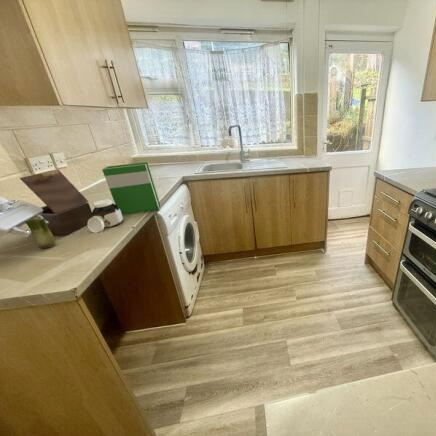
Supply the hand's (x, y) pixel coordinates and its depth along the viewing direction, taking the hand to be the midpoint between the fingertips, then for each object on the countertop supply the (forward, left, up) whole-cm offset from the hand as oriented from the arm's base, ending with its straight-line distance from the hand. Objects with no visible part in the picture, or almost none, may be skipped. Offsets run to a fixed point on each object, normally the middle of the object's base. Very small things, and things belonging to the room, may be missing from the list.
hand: (38, 229), depth 92 cm
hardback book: (+13, +37, -7) cm, 40 cm away
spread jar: (+11, +18, -8) cm, 22 cm away
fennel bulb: (+1, 0, -8) cm, 8 cm away
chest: (-9, +16, -7) cm, 20 cm away
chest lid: (-6, +16, +10) cm, 20 cm away
